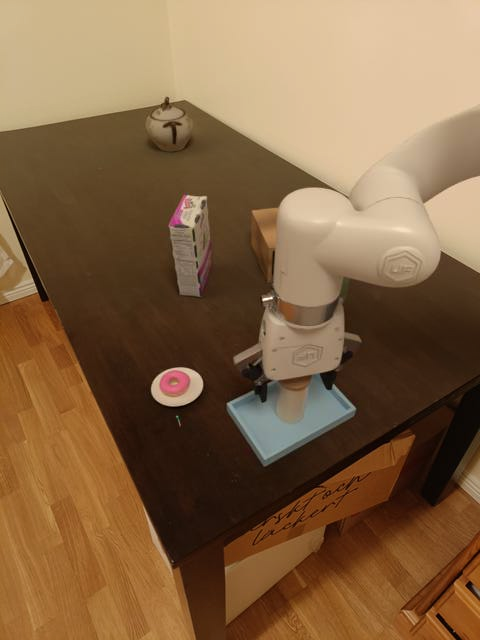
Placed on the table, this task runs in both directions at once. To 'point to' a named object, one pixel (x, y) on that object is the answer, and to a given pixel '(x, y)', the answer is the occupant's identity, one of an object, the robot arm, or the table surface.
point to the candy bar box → (191, 245)
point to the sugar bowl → (169, 127)
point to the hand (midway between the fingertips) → (293, 388)
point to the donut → (177, 387)
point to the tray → (283, 438)
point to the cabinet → (264, 238)
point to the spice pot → (292, 398)
